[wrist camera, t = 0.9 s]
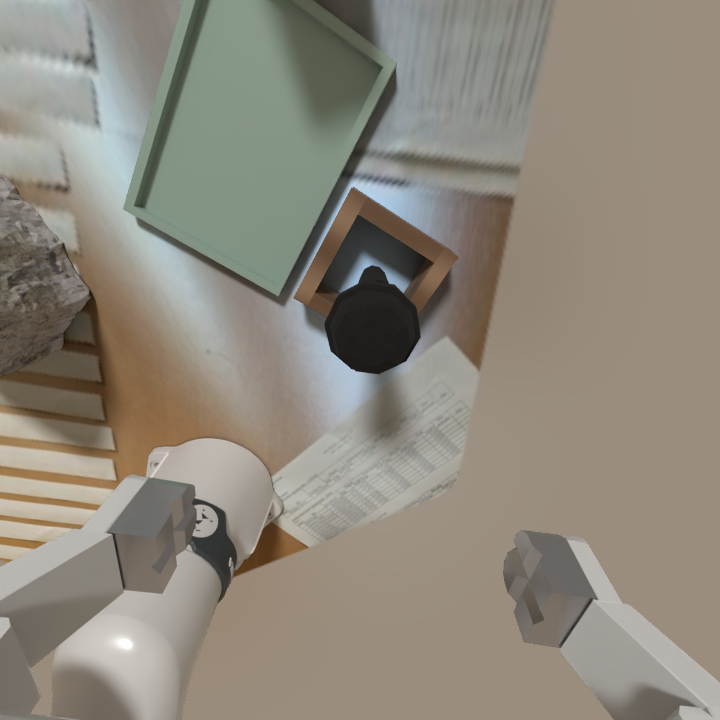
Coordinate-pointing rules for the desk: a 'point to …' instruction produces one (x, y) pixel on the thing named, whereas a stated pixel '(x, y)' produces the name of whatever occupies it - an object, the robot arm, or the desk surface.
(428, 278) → the holder
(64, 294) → the petrified wood
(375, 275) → the microphone
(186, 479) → the robot arm
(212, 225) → the tray
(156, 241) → the desk surface
